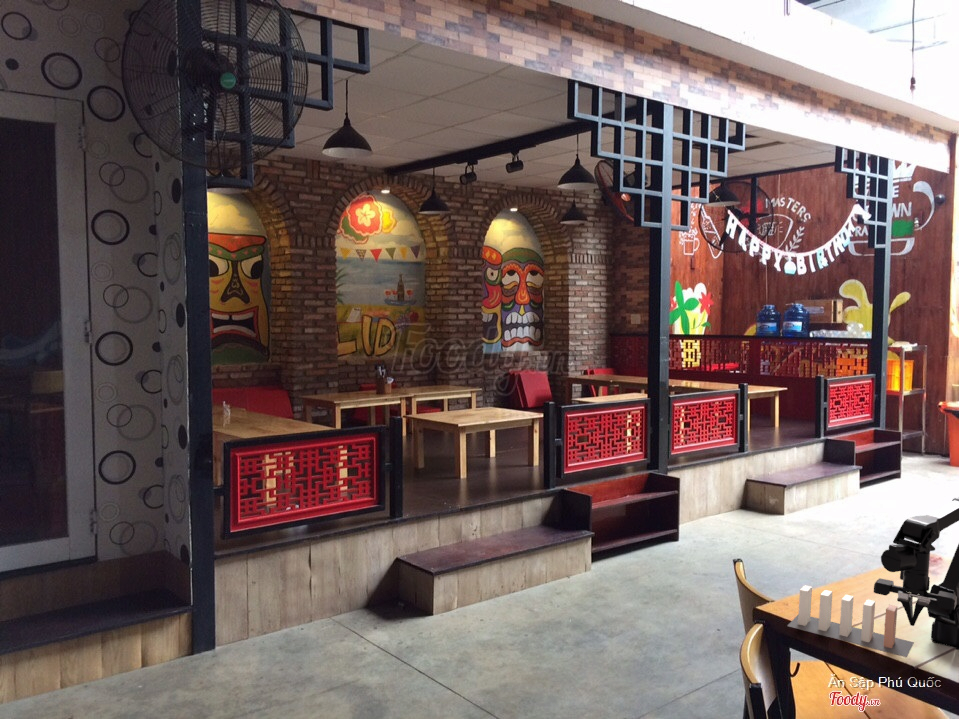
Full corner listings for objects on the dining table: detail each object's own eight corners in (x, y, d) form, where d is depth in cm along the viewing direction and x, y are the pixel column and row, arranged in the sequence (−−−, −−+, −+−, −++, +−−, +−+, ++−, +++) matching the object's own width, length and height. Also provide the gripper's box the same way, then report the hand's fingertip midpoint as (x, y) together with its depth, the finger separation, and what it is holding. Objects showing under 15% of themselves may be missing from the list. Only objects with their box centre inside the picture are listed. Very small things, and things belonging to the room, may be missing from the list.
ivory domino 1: (810, 620, 225) (812, 586, 224) (805, 626, 221) (807, 591, 220) (802, 618, 226) (804, 585, 225) (797, 624, 222) (799, 589, 221)
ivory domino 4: (872, 636, 215) (875, 601, 214) (869, 642, 211) (871, 606, 210) (865, 634, 216) (867, 599, 215) (861, 640, 212) (863, 604, 211)
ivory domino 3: (851, 631, 218) (853, 596, 217) (847, 636, 214) (849, 601, 213) (843, 629, 219) (845, 594, 219) (839, 634, 215) (841, 599, 215)
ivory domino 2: (830, 625, 221) (832, 591, 221) (825, 631, 217) (828, 596, 217) (822, 623, 223) (824, 589, 222) (818, 629, 219) (820, 594, 218)
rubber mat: (913, 643, 212) (914, 642, 212) (906, 658, 202) (906, 657, 202) (798, 614, 230) (799, 613, 230) (787, 627, 220) (787, 626, 220)
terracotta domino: (895, 642, 212) (897, 606, 211) (891, 648, 208) (894, 611, 207) (886, 640, 213) (889, 604, 212) (883, 646, 209) (885, 609, 208)
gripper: (960, 567, 206) (956, 625, 207) (882, 553, 218) (879, 607, 219) (956, 578, 198) (951, 638, 198) (875, 562, 209) (871, 619, 210)
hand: (912, 625), depth 207 cm, fingers closed
